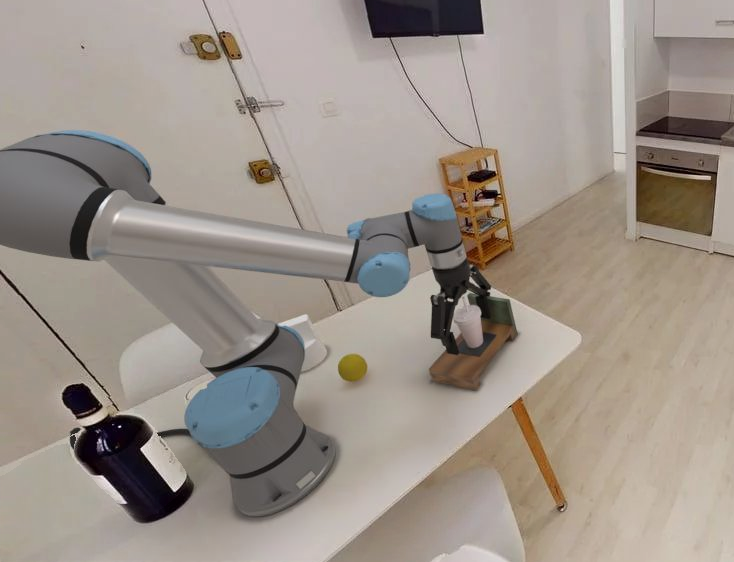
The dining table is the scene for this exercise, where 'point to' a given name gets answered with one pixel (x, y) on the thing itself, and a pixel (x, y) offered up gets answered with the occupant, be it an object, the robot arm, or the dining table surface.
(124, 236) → the robot arm
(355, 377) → the lemon
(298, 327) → the base with upright slab
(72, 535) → the dining table surface
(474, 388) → the wooden board with backrest
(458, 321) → the smoothie
